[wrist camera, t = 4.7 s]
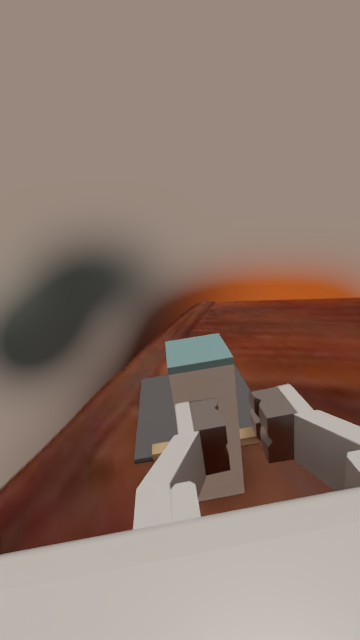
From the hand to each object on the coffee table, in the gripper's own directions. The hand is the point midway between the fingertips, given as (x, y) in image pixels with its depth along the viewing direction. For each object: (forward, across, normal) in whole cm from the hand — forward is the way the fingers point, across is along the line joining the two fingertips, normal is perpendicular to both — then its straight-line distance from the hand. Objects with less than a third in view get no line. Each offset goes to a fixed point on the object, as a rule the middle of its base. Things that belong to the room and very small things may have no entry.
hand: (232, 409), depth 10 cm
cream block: (+12, 0, +17) cm, 21 cm away
